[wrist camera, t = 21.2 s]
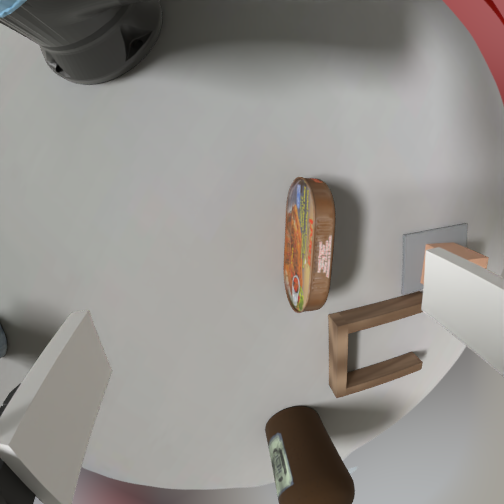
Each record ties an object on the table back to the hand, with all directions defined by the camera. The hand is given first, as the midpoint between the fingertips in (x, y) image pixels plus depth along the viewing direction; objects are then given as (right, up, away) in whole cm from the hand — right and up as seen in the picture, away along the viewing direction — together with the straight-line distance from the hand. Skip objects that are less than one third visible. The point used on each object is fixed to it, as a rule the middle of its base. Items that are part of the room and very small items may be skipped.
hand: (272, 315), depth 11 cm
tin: (+5, +4, +28) cm, 29 cm away
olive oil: (+6, -27, +37) cm, 46 cm away
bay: (+18, -11, +34) cm, 40 cm away
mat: (+27, +1, +32) cm, 42 cm away
